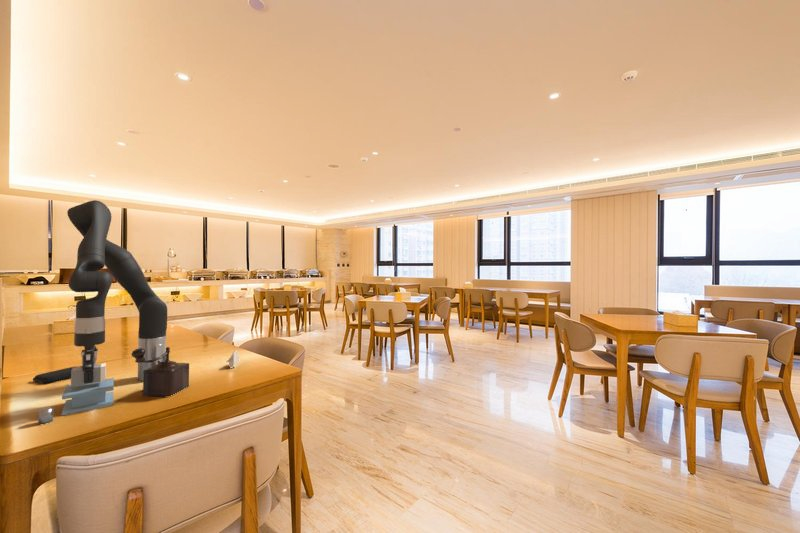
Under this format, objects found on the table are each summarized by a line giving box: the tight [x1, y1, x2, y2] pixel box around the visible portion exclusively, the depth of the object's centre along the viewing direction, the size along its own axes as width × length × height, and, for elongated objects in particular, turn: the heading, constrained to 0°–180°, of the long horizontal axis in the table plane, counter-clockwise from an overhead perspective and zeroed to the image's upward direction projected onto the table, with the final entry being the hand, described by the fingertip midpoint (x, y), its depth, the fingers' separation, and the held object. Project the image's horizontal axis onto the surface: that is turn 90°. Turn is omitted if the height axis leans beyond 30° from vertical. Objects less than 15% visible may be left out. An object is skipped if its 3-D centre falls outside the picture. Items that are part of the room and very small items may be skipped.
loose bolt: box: [37, 406, 54, 425], centre depth 96 cm, size 3×3×4 cm
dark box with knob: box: [131, 346, 190, 398], centre depth 118 cm, size 16×11×18 cm
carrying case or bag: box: [32, 366, 74, 385], centre depth 133 cm, size 11×3×15 cm
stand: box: [61, 377, 115, 416], centre depth 109 cm, size 12×12×6 cm
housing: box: [70, 362, 107, 386], centre depth 109 cm, size 8×5×6 cm, turn 131°
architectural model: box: [225, 350, 240, 368], centre depth 152 cm, size 3×7×8 cm, turn 4°
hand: (89, 380), depth 109 cm, fingers closed on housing, 5 cm apart
